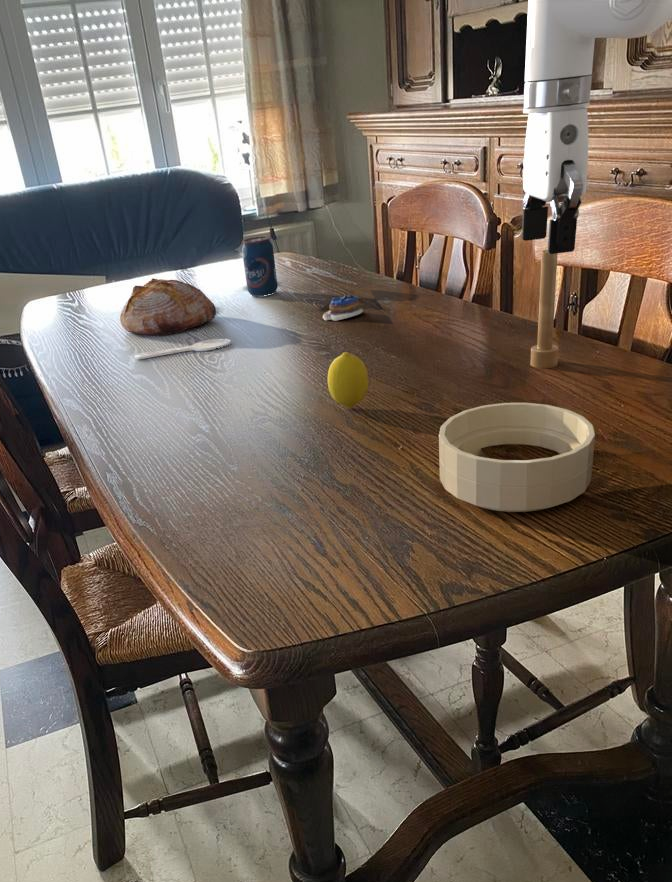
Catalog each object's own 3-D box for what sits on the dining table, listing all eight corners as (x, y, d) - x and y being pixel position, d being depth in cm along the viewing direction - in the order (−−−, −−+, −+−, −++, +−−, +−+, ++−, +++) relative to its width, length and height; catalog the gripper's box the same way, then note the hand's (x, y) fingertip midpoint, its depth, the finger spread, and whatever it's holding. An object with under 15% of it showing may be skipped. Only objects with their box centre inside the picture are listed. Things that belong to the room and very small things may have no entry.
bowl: (557, 444, 86) (560, 395, 83) (615, 506, 73) (621, 450, 70) (426, 461, 86) (425, 413, 84) (460, 526, 73) (460, 471, 70)
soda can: (245, 298, 169) (238, 243, 163) (251, 291, 174) (243, 237, 169) (276, 296, 167) (269, 240, 162) (280, 288, 173) (273, 234, 168)
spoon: (134, 354, 139) (133, 351, 139) (229, 338, 141) (229, 335, 141) (134, 362, 134) (133, 359, 134) (232, 346, 136) (232, 343, 136)
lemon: (343, 399, 107) (338, 344, 103) (377, 403, 104) (374, 347, 100) (322, 413, 103) (317, 357, 99) (357, 418, 100) (352, 360, 96)
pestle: (551, 369, 107) (558, 246, 99) (560, 377, 104) (568, 251, 96) (526, 372, 107) (531, 250, 99) (535, 381, 104) (540, 255, 96)
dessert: (364, 304, 149) (359, 284, 144) (365, 331, 146) (360, 311, 141) (325, 310, 151) (319, 290, 145) (325, 337, 148) (319, 317, 143)
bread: (123, 329, 161) (112, 281, 157) (213, 313, 164) (204, 266, 160) (123, 344, 147) (111, 292, 142) (222, 326, 149) (213, 275, 145)
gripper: (620, 92, 82) (603, 254, 90) (560, 93, 97) (551, 231, 105) (551, 100, 82) (541, 261, 90) (503, 99, 97) (498, 237, 105)
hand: (546, 245), depth 98 cm, fingers open, 9 cm apart
